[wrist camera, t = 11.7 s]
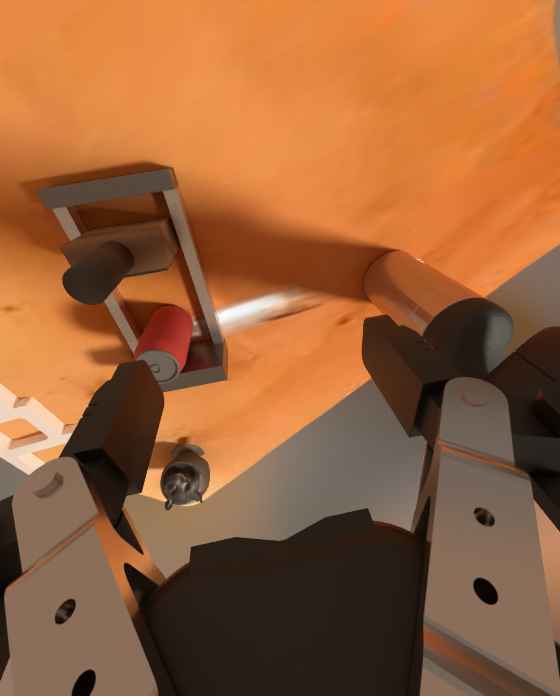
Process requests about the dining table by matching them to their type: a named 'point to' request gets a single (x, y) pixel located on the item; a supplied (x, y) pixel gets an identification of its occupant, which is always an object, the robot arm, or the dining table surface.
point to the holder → (18, 452)
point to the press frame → (203, 356)
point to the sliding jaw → (116, 257)
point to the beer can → (165, 342)
